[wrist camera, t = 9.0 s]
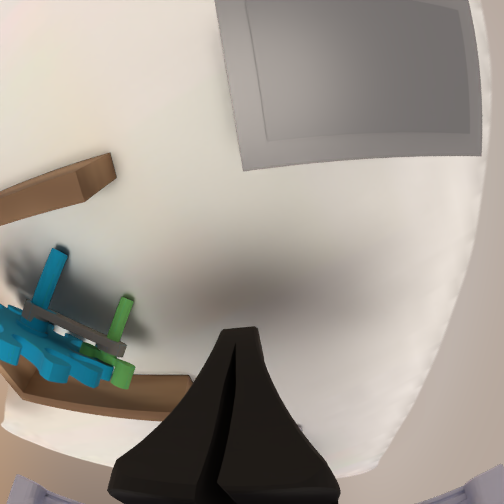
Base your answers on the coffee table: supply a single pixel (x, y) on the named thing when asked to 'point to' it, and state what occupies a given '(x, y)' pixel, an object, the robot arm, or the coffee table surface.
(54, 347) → the blue green toy construction
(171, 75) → the coffee table surface
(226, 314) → the coffee table surface
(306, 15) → the block
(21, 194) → the frame
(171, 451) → the robot arm
